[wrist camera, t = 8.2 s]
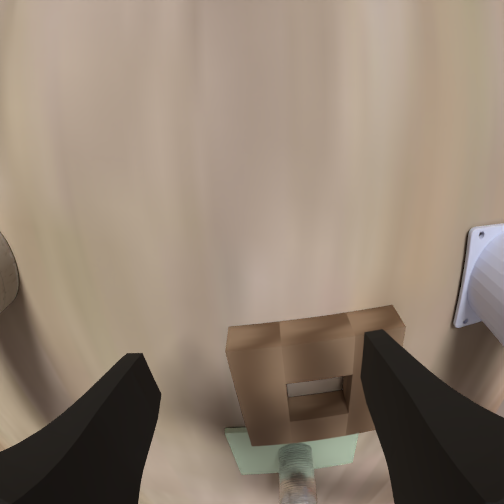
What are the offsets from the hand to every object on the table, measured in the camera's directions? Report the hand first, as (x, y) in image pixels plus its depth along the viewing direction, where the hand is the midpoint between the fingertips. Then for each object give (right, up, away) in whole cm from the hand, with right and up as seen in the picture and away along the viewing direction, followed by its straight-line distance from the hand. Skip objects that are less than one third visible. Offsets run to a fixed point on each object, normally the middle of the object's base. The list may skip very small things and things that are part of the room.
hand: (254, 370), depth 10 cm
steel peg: (+4, -15, +16) cm, 22 cm away
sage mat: (+4, -15, +17) cm, 23 cm away
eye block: (+5, -5, +13) cm, 14 cm away
